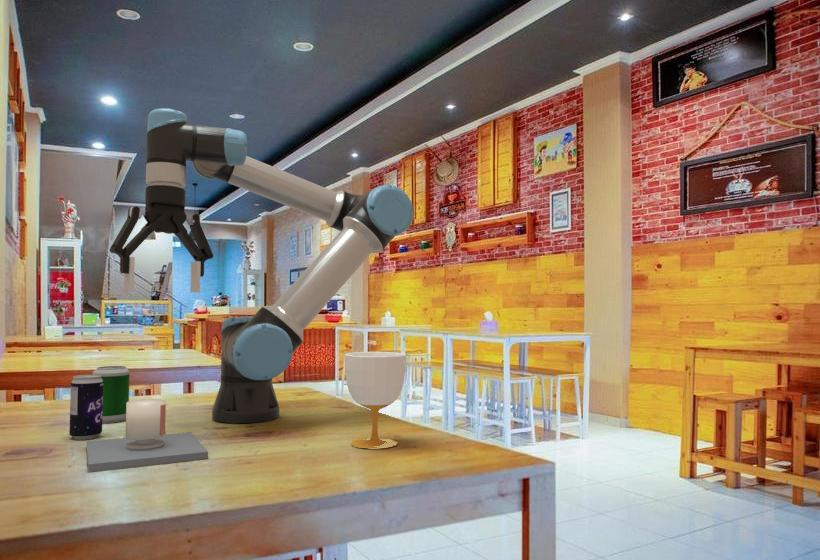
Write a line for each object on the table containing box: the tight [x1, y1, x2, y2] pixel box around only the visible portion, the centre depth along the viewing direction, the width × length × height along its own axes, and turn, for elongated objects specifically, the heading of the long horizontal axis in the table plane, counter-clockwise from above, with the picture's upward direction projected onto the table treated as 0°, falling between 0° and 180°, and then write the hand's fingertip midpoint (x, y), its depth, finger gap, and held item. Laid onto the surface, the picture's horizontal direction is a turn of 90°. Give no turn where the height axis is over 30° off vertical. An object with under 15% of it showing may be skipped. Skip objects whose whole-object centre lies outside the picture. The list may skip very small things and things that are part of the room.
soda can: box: [92, 365, 131, 424], centre depth 137 cm, size 8×8×12 cm
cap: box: [125, 398, 167, 440], centre depth 107 cm, size 6×6×6 cm
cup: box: [344, 351, 407, 449], centre depth 115 cm, size 12×12×17 cm
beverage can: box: [68, 374, 103, 441], centre depth 119 cm, size 6×6×12 cm
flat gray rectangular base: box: [86, 431, 209, 473], centre depth 107 cm, size 18×18×3 cm
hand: (163, 292), depth 122 cm, fingers open, 13 cm apart
